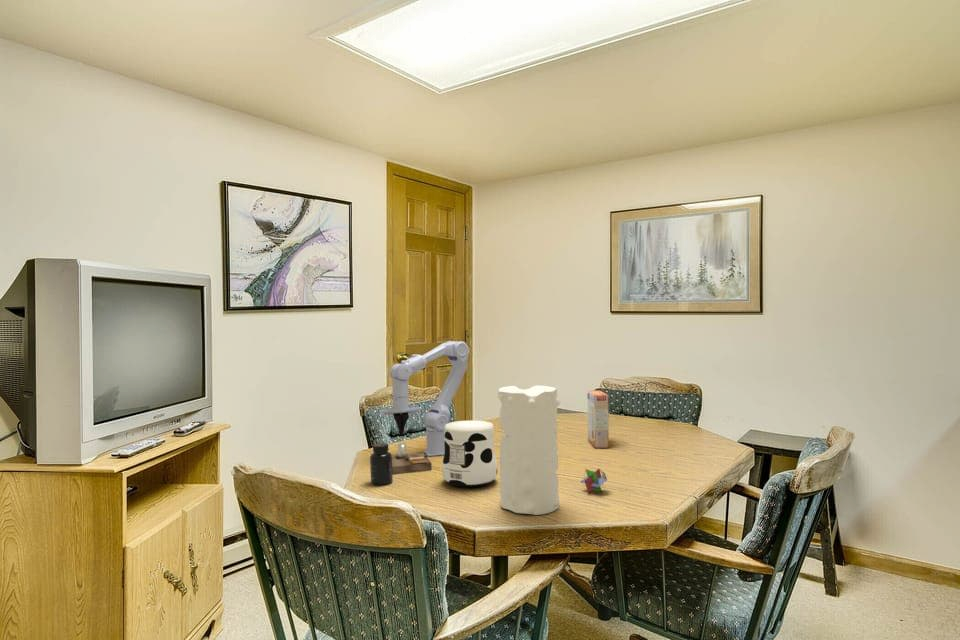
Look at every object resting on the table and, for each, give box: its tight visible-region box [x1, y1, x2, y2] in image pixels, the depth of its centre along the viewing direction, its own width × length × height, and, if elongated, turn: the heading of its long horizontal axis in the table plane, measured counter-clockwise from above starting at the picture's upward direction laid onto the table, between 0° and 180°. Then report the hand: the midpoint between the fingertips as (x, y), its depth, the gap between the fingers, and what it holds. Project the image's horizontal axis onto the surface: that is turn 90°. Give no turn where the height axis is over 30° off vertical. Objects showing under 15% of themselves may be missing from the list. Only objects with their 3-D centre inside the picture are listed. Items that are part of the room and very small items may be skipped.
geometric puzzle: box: [580, 468, 608, 494], centre depth 157 cm, size 7×7×8 cm
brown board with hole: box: [391, 451, 433, 475], centre depth 188 cm, size 14×16×4 cm
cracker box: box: [586, 390, 610, 449], centre depth 216 cm, size 14×6×21 cm, turn 179°
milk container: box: [441, 420, 498, 488], centre depth 168 cm, size 17×17×18 cm
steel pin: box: [397, 443, 407, 459], centre depth 191 cm, size 3×3×7 cm
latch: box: [409, 457, 428, 464], centre depth 184 cm, size 5×6×1 cm
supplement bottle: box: [369, 442, 394, 487], centre depth 169 cm, size 7×7×12 cm
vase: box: [497, 384, 561, 516], centre depth 146 cm, size 17×16×32 cm
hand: (401, 433), depth 197 cm, fingers closed
